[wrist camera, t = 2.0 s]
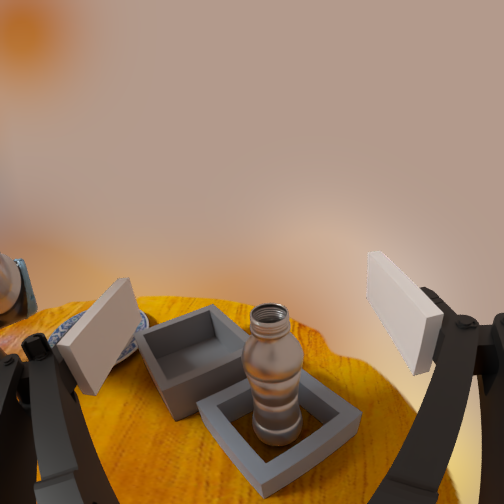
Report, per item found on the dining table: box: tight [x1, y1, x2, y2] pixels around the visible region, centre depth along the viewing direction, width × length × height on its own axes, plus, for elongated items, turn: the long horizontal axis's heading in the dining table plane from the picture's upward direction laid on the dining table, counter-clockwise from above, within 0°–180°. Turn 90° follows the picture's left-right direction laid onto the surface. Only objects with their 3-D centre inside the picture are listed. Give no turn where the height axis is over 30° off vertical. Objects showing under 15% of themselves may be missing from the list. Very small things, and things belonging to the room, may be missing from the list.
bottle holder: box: [196, 369, 363, 499], centre depth 33 cm, size 15×15×5 cm
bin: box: [133, 304, 250, 421], centre depth 46 cm, size 16×16×7 cm
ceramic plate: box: [48, 310, 149, 365], centre depth 56 cm, size 26×26×3 cm
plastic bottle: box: [241, 303, 304, 446], centre depth 31 cm, size 6×7×20 cm
